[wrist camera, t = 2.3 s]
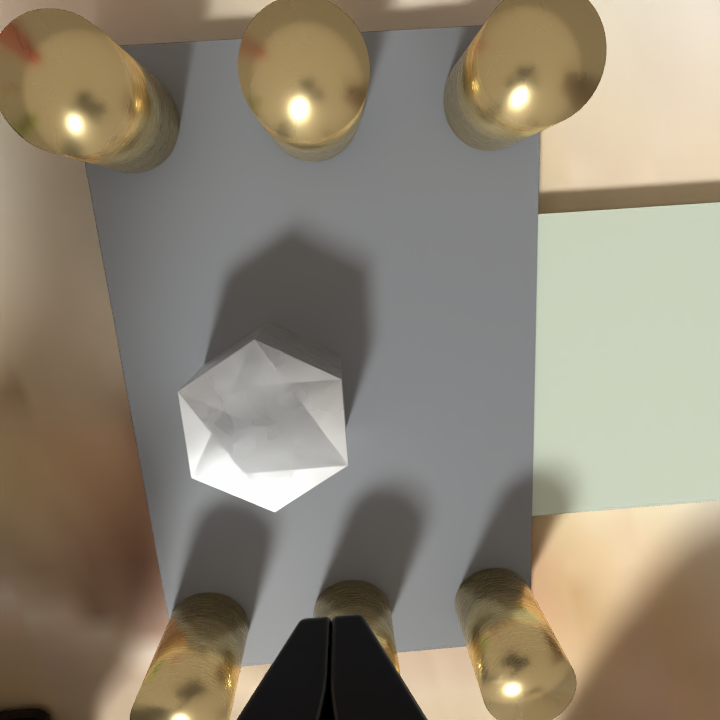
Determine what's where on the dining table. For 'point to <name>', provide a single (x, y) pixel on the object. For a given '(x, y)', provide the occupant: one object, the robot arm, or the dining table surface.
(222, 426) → the white faceted block
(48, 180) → the dining table surface
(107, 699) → the dining table surface
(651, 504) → the mat
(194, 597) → the spacers
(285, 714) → the robot arm
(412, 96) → the board
